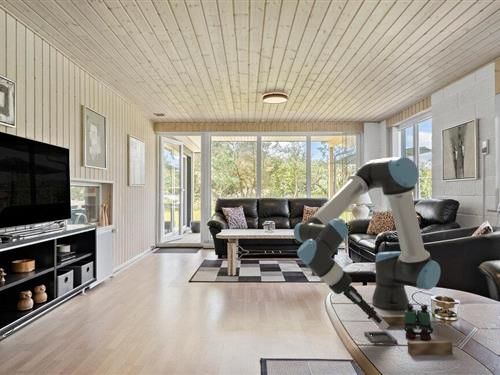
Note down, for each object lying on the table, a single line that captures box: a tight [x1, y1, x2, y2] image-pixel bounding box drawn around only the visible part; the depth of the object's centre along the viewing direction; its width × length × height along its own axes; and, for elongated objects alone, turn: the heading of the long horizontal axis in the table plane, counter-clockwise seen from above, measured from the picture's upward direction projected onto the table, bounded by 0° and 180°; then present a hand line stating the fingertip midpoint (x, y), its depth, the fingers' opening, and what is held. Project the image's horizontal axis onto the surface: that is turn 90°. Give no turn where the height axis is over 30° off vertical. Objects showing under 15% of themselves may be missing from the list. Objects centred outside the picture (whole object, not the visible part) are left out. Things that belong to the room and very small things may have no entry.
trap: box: [363, 330, 398, 344], centre depth 120 cm, size 8×8×1 cm
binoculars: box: [403, 303, 434, 341], centre depth 120 cm, size 9×11×10 cm
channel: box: [379, 314, 454, 356], centre depth 120 cm, size 13×25×4 cm, turn 2°
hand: (385, 327), depth 120 cm, fingers closed
